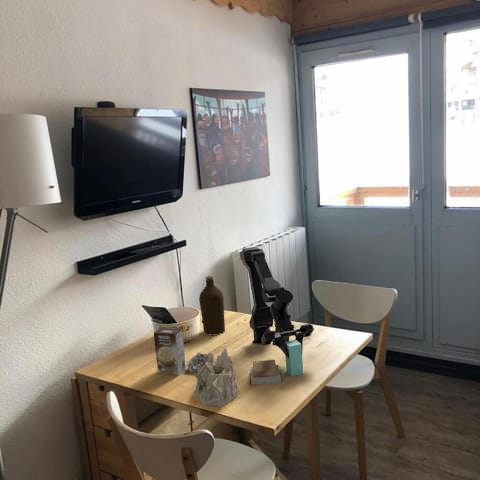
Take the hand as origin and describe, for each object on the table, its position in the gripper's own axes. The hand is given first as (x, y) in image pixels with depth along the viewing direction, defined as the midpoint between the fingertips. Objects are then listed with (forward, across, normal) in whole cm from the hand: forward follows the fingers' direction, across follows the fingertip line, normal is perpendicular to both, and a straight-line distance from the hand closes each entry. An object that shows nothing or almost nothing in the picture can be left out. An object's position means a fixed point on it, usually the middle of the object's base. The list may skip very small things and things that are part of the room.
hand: (295, 356), depth 184 cm
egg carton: (-11, +29, -21) cm, 38 cm away
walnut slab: (+1, +11, -6) cm, 12 cm away
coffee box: (-12, +40, -22) cm, 47 cm away
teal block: (+4, 0, -6) cm, 7 cm away
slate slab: (+3, +10, -7) cm, 13 cm away
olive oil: (-35, +15, -44) cm, 58 cm away
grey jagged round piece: (+6, +30, -4) cm, 31 cm away
